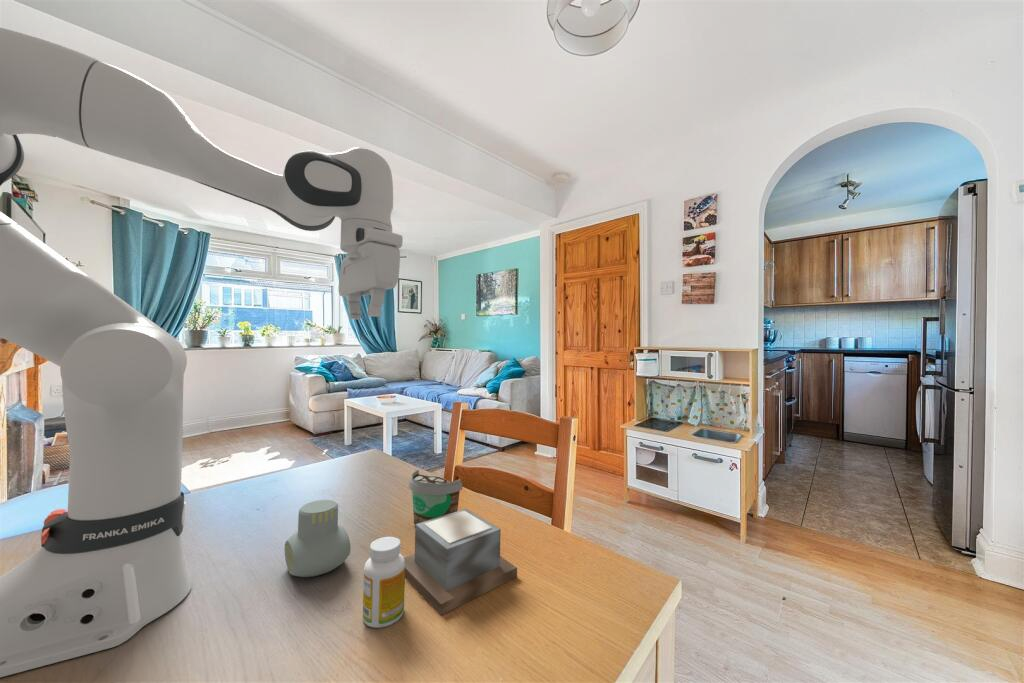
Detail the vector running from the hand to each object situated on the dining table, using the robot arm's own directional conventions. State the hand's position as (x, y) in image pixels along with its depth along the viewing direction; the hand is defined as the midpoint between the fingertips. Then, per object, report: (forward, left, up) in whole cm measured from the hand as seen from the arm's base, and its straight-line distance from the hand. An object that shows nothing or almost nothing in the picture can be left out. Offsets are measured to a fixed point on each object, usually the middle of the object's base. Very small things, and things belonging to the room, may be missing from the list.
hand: (364, 317), depth 69 cm
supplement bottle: (-3, -19, -42) cm, 47 cm away
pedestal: (+10, -17, -42) cm, 46 cm away
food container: (+14, 0, -42) cm, 44 cm away
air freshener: (-7, -1, -42) cm, 43 cm away
